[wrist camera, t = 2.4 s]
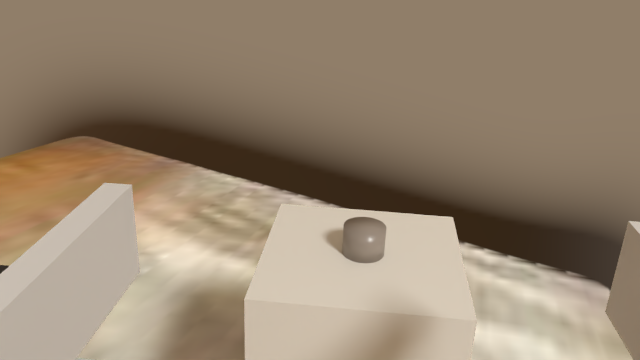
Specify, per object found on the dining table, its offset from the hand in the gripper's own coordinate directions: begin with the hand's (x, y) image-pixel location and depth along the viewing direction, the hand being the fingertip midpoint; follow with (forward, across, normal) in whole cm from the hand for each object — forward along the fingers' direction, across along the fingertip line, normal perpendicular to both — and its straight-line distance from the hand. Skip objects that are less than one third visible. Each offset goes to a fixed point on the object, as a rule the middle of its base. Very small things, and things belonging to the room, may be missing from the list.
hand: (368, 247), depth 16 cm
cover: (+11, 0, -18) cm, 21 cm away
